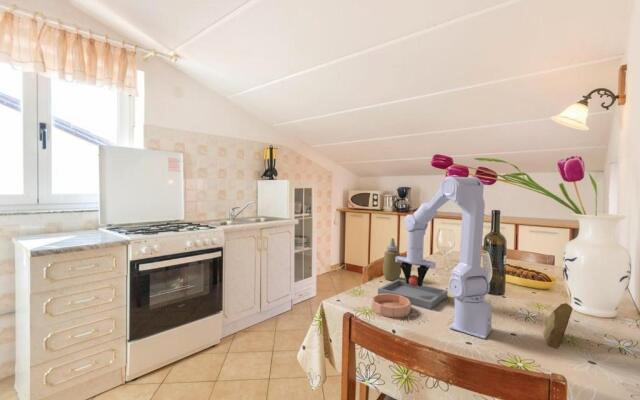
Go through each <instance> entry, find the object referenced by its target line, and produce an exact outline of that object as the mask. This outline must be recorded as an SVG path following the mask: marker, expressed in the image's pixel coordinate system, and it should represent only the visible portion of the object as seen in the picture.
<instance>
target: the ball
mask: <svg viewBox="0 0 640 400" xmlns="http://www.w3.org/2000/svg"><path fill="white" fill-rule="evenodd" d="M409 283H410V285H412V286H418V275H415V274H411V276H410V277H409Z"/></svg>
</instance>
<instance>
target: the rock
mask: <svg viewBox="0 0 640 400" xmlns="http://www.w3.org/2000/svg"><path fill="white" fill-rule="evenodd" d="M573 309H574V308H573V307H572V306H571V305H570V304H568V303H567V302H564V303H561V304H560V305H558V306H556V308H555V309H553V311H552V312H551V314H550V315H548V318H547V319H546V321H545V326H544V327H545V328H544V331H543V332H542V334H543V337H544V338H545V340H546V341H547V342H546V343H547V345H549V346H552V347H553V348H557V349H559V348H560V346H561V343H562V342H563V340H564V335H565V333H566V330H567V327H568V324H569V321H570V318H571V315H572V313H573V312H572V311H573Z"/></svg>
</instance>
